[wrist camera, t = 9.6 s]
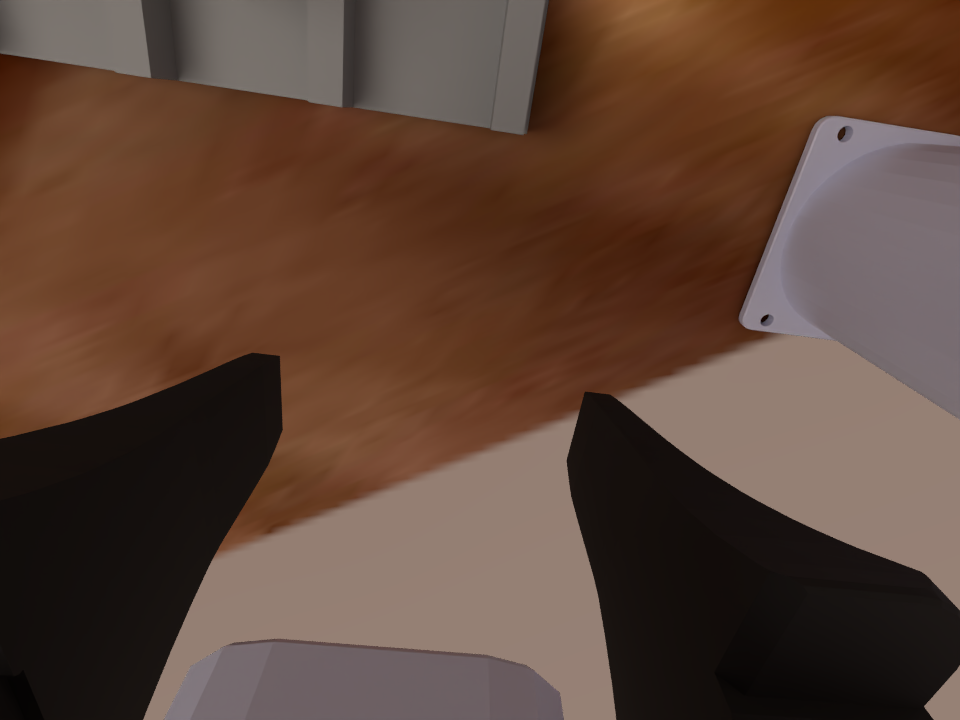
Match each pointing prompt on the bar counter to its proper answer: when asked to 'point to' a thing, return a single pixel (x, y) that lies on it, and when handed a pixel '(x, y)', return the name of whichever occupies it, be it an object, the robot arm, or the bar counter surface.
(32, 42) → the drying rack
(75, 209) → the bar counter surface
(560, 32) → the bar counter surface
